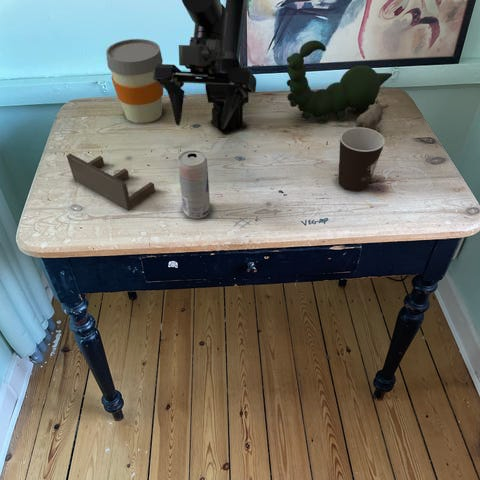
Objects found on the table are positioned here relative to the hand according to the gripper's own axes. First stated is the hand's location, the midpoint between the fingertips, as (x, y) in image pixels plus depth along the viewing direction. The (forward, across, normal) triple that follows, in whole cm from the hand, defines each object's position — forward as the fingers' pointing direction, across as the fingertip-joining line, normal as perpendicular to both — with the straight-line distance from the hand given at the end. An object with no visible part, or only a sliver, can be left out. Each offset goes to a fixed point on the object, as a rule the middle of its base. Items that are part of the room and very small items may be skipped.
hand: (199, 126), depth 93 cm
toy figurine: (-12, +21, +37) cm, 44 cm away
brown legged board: (+12, -19, +4) cm, 23 cm away
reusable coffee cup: (-7, -25, +25) cm, 36 cm away
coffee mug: (+5, +30, +18) cm, 36 cm away
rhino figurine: (-9, +30, +34) cm, 46 cm away
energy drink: (+16, 0, +2) cm, 16 cm away
